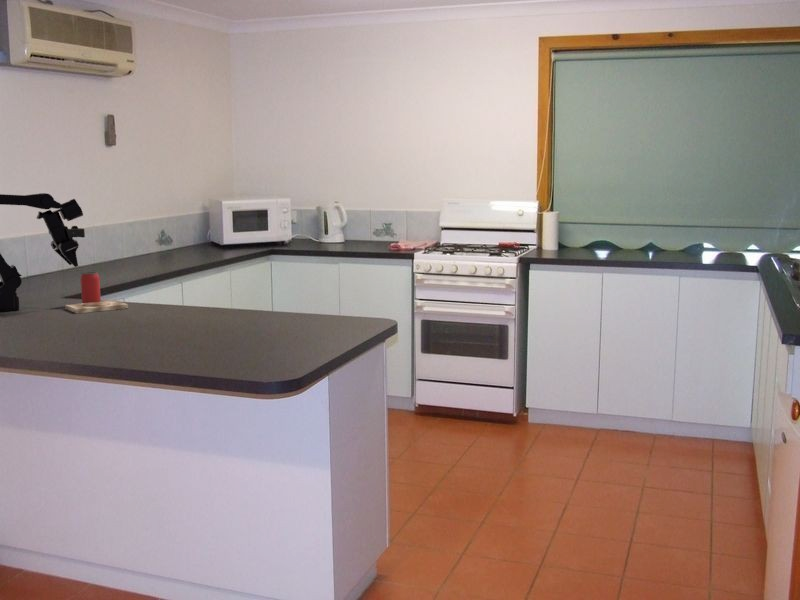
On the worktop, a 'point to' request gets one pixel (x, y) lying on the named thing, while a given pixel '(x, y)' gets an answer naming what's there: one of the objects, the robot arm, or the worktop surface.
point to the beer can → (90, 287)
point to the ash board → (96, 306)
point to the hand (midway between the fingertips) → (73, 265)
